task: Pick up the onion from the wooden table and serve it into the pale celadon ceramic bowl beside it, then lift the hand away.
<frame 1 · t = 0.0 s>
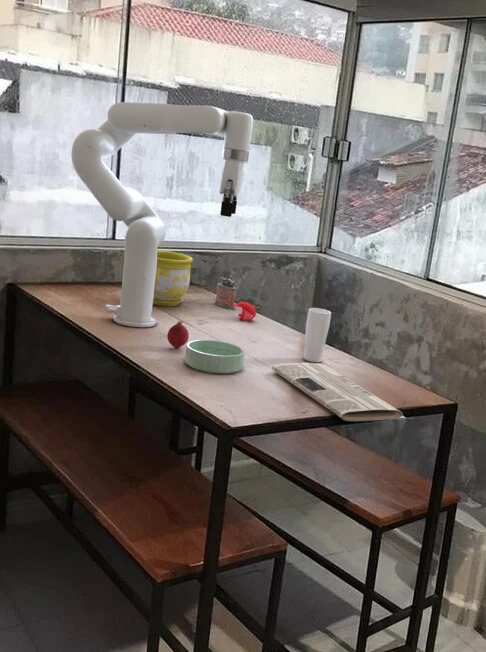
hand: (227, 214, 239), 37 cm above the table, tool pointing down, fingers open, 9 cm apart
newspaper: (335, 395, 209), on the table
cap: (243, 319, 274), on the table
bowl: (213, 365, 216), on the table
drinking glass: (312, 360, 238), on the table
flowerpot: (160, 302, 280), on the table
onion: (176, 349, 226), on the table
lighter: (224, 306, 289), on the table
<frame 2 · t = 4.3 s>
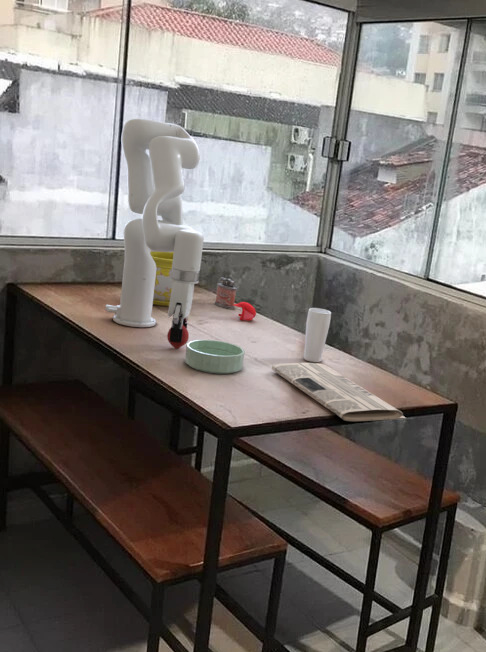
hand: (177, 338, 225), 3 cm above the table, tool pointing down, fingers closed on onion, 6 cm apart
onion: (176, 349, 226), on the table, touching gripper
everything else where it was.
when the fingers open (4 cm above the table, at t = 11.6 s): onion stays where it is, resting on bowl.
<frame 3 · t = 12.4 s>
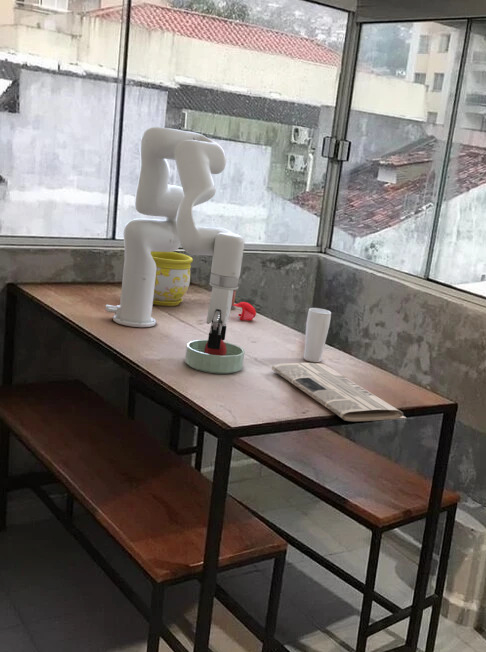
hand: (216, 343, 215), 6 cm above the table, tool pointing down, fingers open, 9 cm apart
onion: (213, 364, 216), resting on bowl
everything else where it was.
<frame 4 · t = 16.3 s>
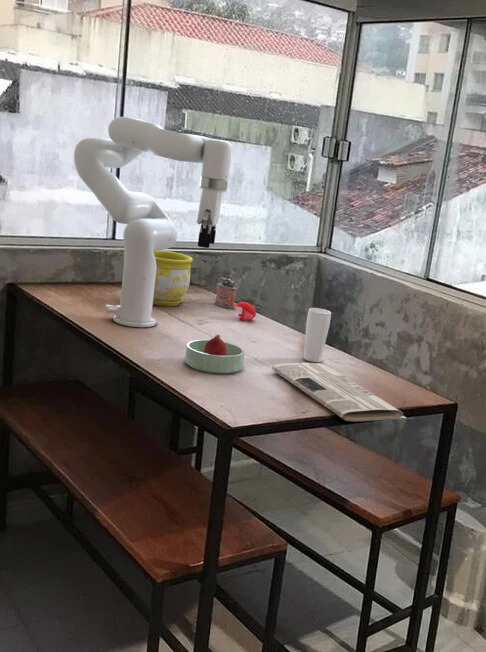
hand: (206, 245, 231), 28 cm above the table, tool pointing down, fingers open, 9 cm apart
nothing on the table moved.
at the end: onion inside the target area in the bowl (0.1 cm from its centre), point 0.4 cm above the bowl's base; the gripper is holding nothing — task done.
